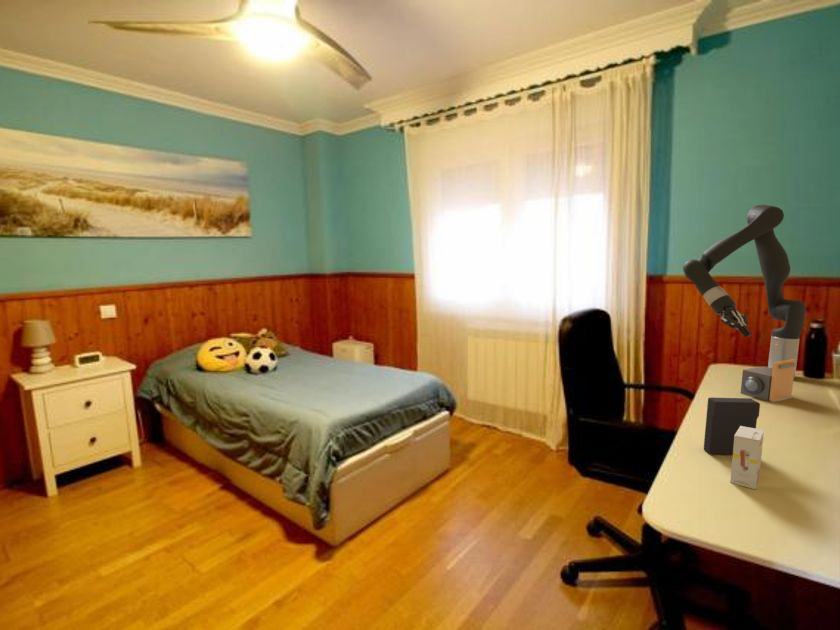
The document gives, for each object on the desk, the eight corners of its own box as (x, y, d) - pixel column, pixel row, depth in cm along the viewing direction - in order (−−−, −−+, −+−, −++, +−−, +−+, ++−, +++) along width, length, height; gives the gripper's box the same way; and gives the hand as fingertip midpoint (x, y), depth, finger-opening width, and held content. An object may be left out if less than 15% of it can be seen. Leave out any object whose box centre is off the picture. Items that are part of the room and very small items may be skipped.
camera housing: (760, 391, 166) (763, 366, 165) (787, 398, 158) (790, 372, 157) (736, 396, 161) (739, 370, 160) (763, 404, 153) (766, 376, 151)
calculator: (744, 450, 118) (749, 397, 116) (754, 457, 114) (760, 402, 112) (701, 448, 119) (706, 396, 117) (710, 455, 115) (715, 401, 113)
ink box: (735, 469, 108) (739, 424, 106) (760, 476, 104) (765, 429, 103) (728, 482, 102) (733, 434, 100) (755, 490, 98) (760, 441, 97)
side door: (787, 398, 158) (792, 359, 156) (793, 399, 156) (798, 360, 154) (768, 402, 154) (773, 362, 151) (774, 403, 152) (779, 363, 150)
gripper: (715, 295, 168) (745, 331, 158) (737, 293, 173) (768, 328, 163) (700, 307, 173) (729, 342, 164) (722, 305, 178) (751, 340, 169)
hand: (748, 335), depth 163 cm, fingers closed
